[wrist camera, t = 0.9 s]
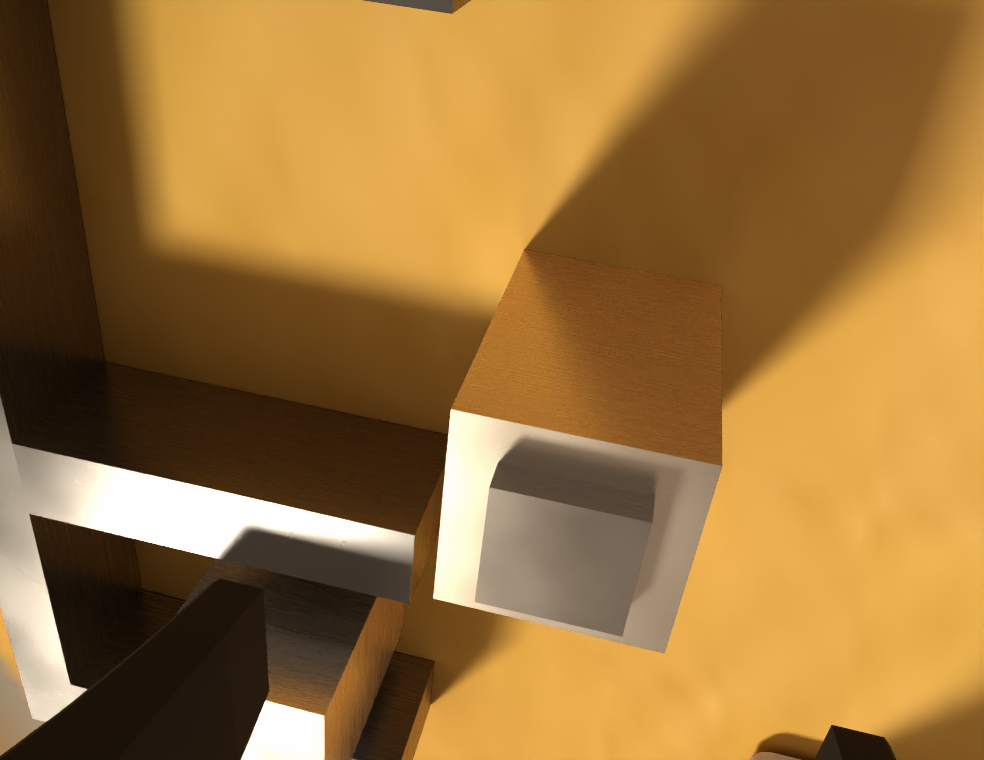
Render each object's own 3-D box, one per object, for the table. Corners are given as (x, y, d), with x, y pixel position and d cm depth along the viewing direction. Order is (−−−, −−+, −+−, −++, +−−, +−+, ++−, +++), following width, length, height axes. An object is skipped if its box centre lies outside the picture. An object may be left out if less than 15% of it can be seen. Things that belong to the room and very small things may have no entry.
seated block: (402, 627, 25) (324, 827, 20) (268, 595, 25) (158, 783, 20) (410, 521, 23) (324, 715, 18) (262, 487, 23) (138, 668, 18)
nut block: (677, 445, 20) (662, 681, 14) (502, 409, 20) (423, 623, 15) (721, 285, 18) (722, 492, 12) (524, 249, 18) (440, 432, 13)
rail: (430, 706, 26) (394, 815, 24) (104, 624, 28) (32, 718, 25) (514, -155, 14) (464, -150, 12) (-66, -229, 16) (-243, -241, 13)
